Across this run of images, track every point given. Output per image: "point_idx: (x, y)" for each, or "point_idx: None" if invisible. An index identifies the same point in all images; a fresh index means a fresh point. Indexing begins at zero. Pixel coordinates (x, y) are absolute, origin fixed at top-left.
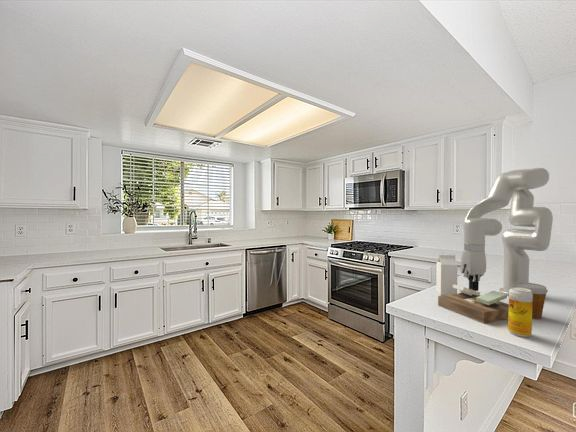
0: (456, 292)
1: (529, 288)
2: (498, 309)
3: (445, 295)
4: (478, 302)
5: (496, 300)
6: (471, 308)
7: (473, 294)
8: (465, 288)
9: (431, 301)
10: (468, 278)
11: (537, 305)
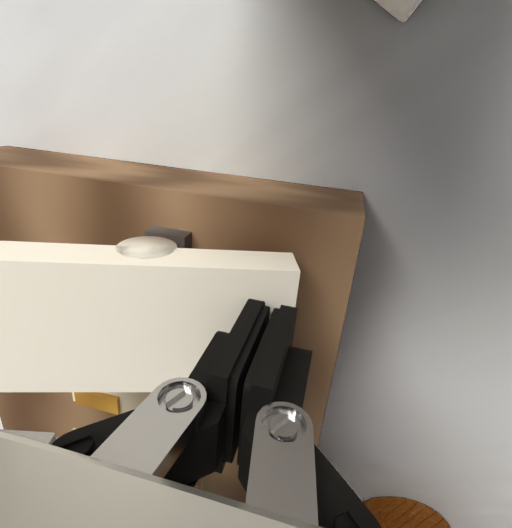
0: (403, 8)
1: None
2: None
3: (4, 175)
4: (125, 410)
5: None
6: (3, 418)
7: (304, 296)
8: (32, 385)
9: (13, 38)
10: (111, 430)
11: None
